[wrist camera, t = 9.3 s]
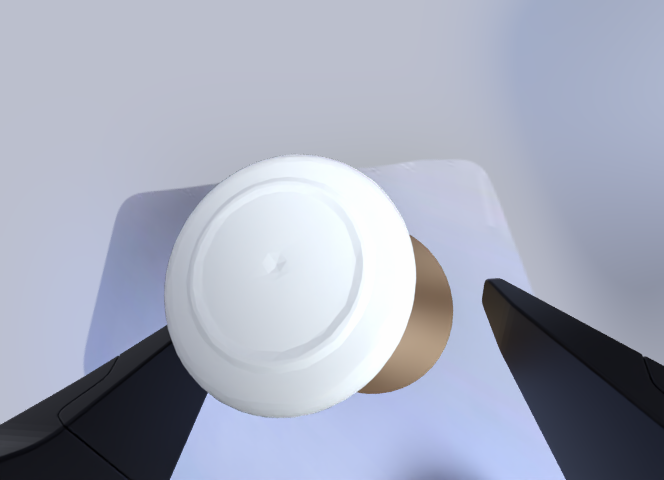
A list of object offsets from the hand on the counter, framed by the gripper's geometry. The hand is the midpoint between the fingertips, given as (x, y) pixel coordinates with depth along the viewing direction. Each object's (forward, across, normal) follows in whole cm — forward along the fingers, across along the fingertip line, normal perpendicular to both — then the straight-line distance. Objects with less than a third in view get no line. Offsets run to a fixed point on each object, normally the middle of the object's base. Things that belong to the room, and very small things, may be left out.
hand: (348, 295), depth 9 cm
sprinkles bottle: (+6, 0, +6) cm, 8 cm away
